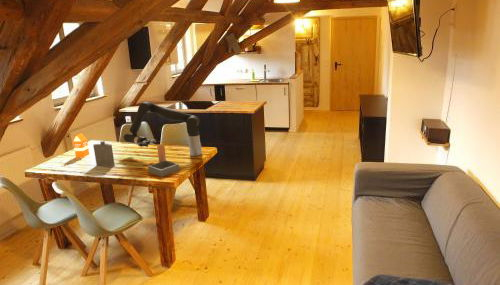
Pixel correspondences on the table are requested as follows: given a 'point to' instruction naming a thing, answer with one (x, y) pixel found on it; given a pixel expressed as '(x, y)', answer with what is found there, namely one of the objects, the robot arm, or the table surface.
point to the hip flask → (104, 154)
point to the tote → (163, 168)
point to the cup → (161, 153)
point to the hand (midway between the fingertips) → (152, 144)
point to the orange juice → (80, 146)
